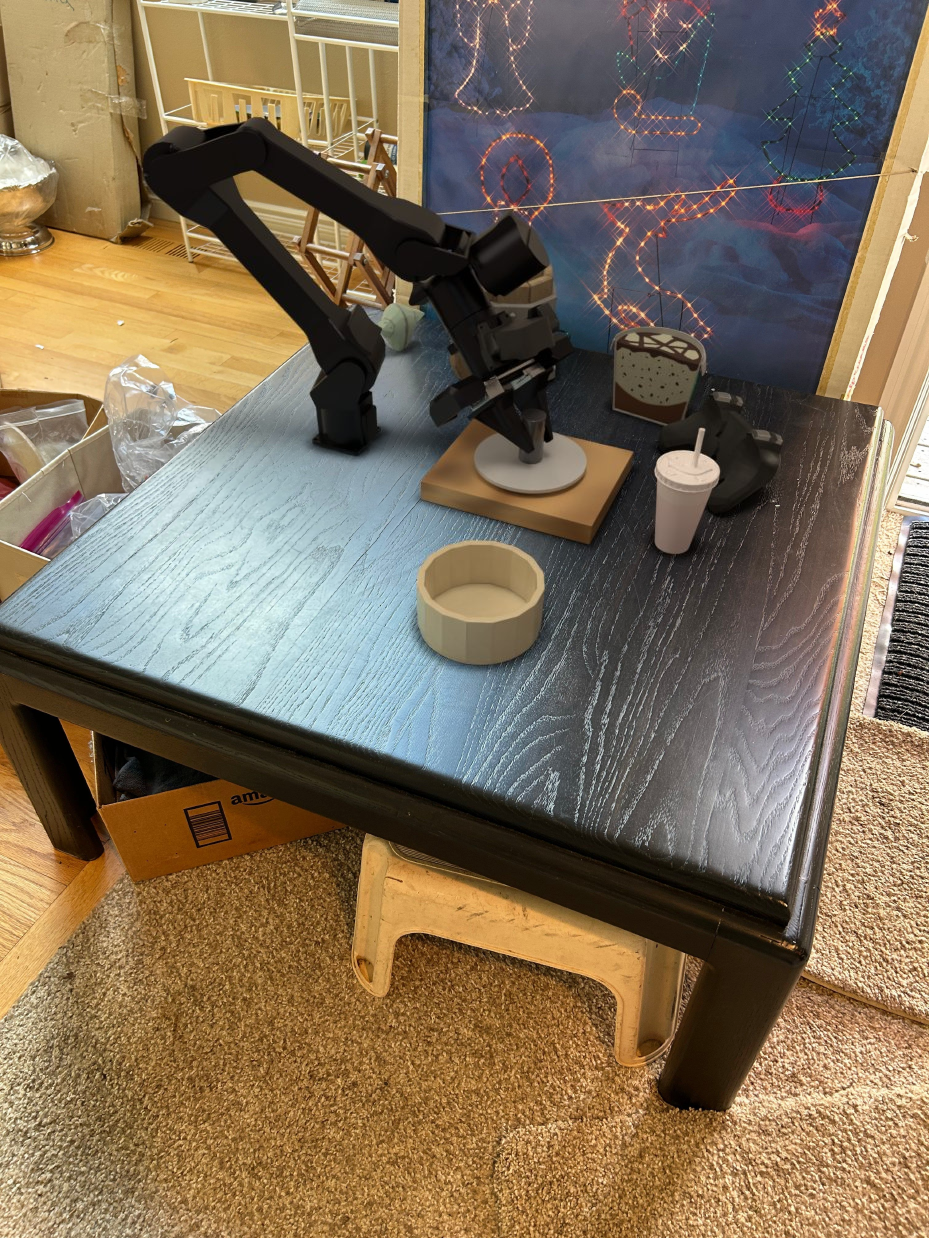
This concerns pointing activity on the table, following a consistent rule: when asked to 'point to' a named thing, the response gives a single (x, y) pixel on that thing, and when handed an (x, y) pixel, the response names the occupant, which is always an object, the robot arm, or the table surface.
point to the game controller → (727, 448)
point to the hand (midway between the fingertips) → (540, 446)
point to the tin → (480, 601)
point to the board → (550, 513)
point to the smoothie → (682, 495)
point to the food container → (655, 373)
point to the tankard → (517, 310)
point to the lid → (531, 459)
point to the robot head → (399, 325)
